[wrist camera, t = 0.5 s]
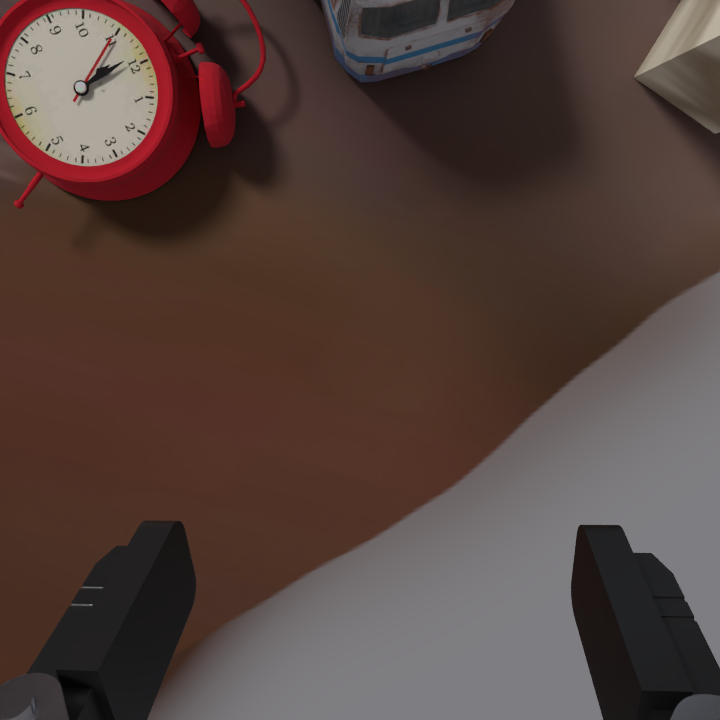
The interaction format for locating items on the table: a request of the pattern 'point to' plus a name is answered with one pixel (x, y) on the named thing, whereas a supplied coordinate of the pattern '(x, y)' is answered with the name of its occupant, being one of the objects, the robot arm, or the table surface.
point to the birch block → (688, 62)
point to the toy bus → (407, 33)
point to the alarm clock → (108, 94)
